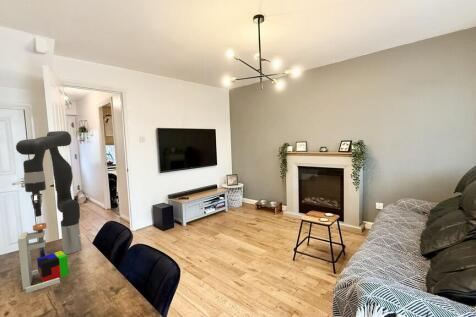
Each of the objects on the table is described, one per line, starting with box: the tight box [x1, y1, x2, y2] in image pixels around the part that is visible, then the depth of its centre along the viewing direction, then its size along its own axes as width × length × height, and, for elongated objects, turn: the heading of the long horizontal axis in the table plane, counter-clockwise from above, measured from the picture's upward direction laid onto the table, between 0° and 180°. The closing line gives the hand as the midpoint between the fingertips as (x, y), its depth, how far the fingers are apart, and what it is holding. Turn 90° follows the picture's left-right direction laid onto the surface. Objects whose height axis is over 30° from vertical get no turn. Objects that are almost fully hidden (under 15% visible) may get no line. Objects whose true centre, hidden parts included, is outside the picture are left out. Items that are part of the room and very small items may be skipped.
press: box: [17, 229, 61, 294], centre depth 113 cm, size 14×18×24 cm
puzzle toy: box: [36, 250, 70, 283], centre depth 116 cm, size 10×10×10 cm
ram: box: [32, 222, 48, 258], centre depth 113 cm, size 5×5×16 cm
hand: (38, 216), depth 112 cm, fingers closed
